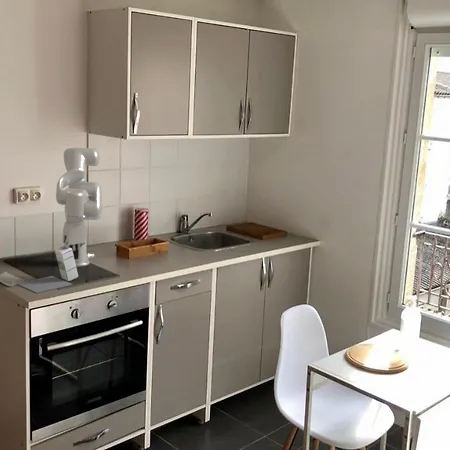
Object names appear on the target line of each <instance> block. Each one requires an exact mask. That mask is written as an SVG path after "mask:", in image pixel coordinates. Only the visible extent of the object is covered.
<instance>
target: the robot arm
mask: <svg viewBox="0 0 450 450" xmlns="http://www.w3.org/2000/svg"><path fill="white" fill-rule="evenodd" d="M63 162H64V166H65V169H66V172H65V173H64V174H63V175H62V176H61V177H60V178H59V179H58V181H57V183H56V192H55V199H56V202H57V203H58V204H59V205H60V206H61V205H62V206H63V205H64V216H65V222H64V223H63V228H62V229H63V230H62V243H63V244H64V245H63V246H64V247H66V248H72V251H73V255H74V260H75V264H76V268H78V267H85V266H88V265H90V260H89V259H91V258H95V253H87V234H88V233H87V227H86V223H85V222H86V221H98V220H99V219H100V218H101V217H102V210H103V207H102V206H103V205H102V204H103V203H102V188H101V185H100V183H98V182H94V181H87V174H86V173H87V172H86V169H87V167H97V166H98V165H99V163H100V151H99V150H98V148H95V147H92V148H91V147H69V148H67V149H66V148H65V150H64V152H63ZM67 186H68V188H67Z"/></svg>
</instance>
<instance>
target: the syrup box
mask: <svg viewBox="0 0 450 450" xmlns="http://www.w3.org/2000/svg"><path fill="white" fill-rule="evenodd" d="M54 253H55V257H56V261H57V265H58V269H59V274H60V277H61V278H60V279H61V280H64V281H66V282H70V281H72V280H74V279H77V278H79V274H78V269H77V267H76V264H75V260H74V255H73V251H72V248H66V247H64V245H63V246H61V247H59V248H56V249H54Z"/></svg>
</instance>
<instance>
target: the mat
mask: <svg viewBox="0 0 450 450" xmlns="http://www.w3.org/2000/svg"><path fill="white" fill-rule="evenodd" d="M16 285H17V286H19V287H22V288H24V289H26V290H29V291H31V292H33V293H34V294H40V293H45V292H48V291H54V290H59V289H62V288H67V287H72V286H73V285H74V283H71V282H70V281H67V280H64V279H62V278H58V277H56V276H54V275H50V276H45V277H40V278H35V279H30V280H26V281H21V282H17V283H16Z"/></svg>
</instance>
